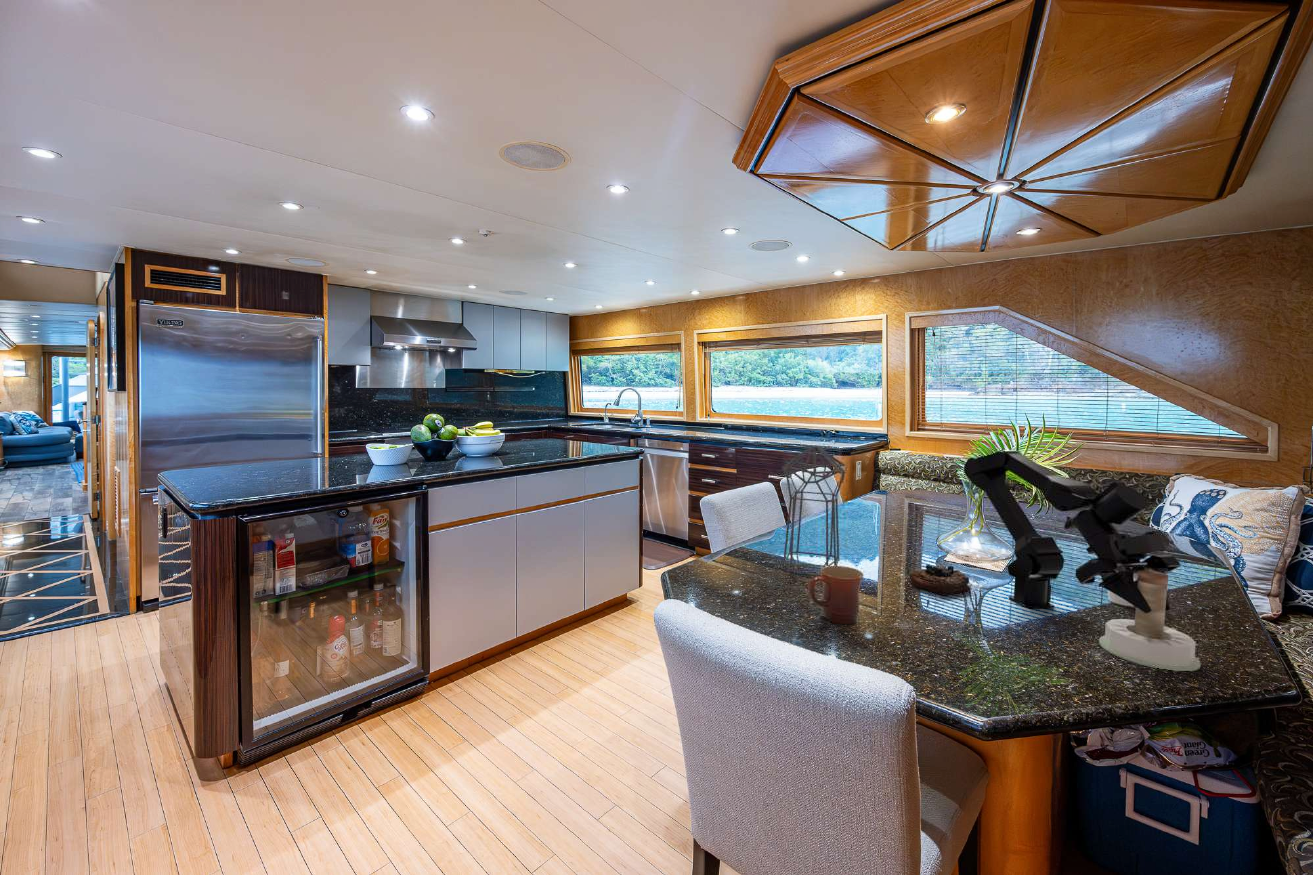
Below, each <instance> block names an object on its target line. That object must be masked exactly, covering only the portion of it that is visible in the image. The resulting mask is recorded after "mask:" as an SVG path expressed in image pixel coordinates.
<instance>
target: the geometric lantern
mask: <svg viewBox="0 0 1313 875" xmlns="http://www.w3.org/2000/svg"><path fill="white" fill-rule="evenodd" d="M807 455H808V457H807V460H806V461H805V462H800V460H802V459H803V458H804V457H806V456H807ZM817 455H818V458H819V459H820V461H821V464H822V465H821V464H817ZM812 456H813V460H812V461H813V463H812V464H809V462H810V459H811V458H812ZM823 457H824V459H825V460H827V462H828V463H829V464H826V463H825V462H824V459H823ZM795 465H796V466H797V467H793V466H795ZM798 467H799V468H798ZM807 467H812V468H813V471H812V470H808V468H807ZM831 467H832V468H833V469H832V470H827V468H831ZM817 468H822V469H823V470H822V471H817ZM781 469H782V470H783V471H784V474H785V478H786V481H787V488H788V495H789V504H788V505H789V506H788V514H787V523H786V531H785V532H786V533H785V542H784V552H783V558H782V559H783V564H784V565H785V566H786V567H788V568H789V569H790V570H791V571H792V572H793V577H794V578H795V579H798V580H800V576H799V574H801V575H802V574H803V575H812V576H816V577H817V576H821V573H814V572H800V571H798V572H797V570H800V567H801V568H807V569H814V570H815V572H819V571H818V570H820V569H821V568H823V567H827V566H839V561H840V540H839V537H840V536H839V534H840V533H839V513H838V512H839V511H838V510H839V508H838V507H839V504H838V495H839V493H840V489H841V487H842V484H843V483H844V482H843V481H844V480H845V473H846V469H847V465H846V464H845V463H843V462H842V461H841V460H839V459H838V458H836V457H835V456H833V455H831V454H830V453H829V452H827V451H826V450H824V449H823V448H822V447H821V446H818V445H811V446H809V447H808V448H807V449H805V450H803V451H802V452H801V453H799V454H797V455H796V456H795V457H793V458H792V459H791V460H789V461H787V463H786V464H785V465H783V466H782V467H781ZM795 471H798V472H799V471H800V472H801V473H802V477H801V476H800V475H799V474H797V472H795ZM805 473H808V474H809V475H810V476H809V477H808V479H807V481H806V478H805ZM837 474H841V476H840V480H839V481H837V484H836V487H835V489H834V491H833V490H832V489H831V487H830V485H829V483H828V481H827V479H829V478H830V477H833V476H835V475H837ZM792 475H794V476H795V477H797V478H798V479H799V480H800V481H802V483H801V485H800V486H799V487H798V489H797V488H796V485H795V483H794V481H793V480H794V479H793V478H792ZM813 477H814V478H813ZM812 478H813V479H814V480H811V479H812ZM816 478H819V479H816ZM790 480H791V483H792V485H793V487H794V490H795V491H793V492H791V486H790V485H791V484H790ZM822 481H824V483H825V484H826V485H827V488H829V491H830V493H829V492H824V491H823V489H822V488H821V486H820V484H819V483H820V482H822ZM808 484H816V485H817V488H818V490H819V491H820V492H813V491H804V490H805V488H807V486H808ZM798 494H800V497H797V496H798ZM804 494H811V495H812V494H817V495H822V496H823V498H824V500H823V499H813V498H803V497H804ZM827 495H829V496H831V499H830V500H829V499H828V498H827ZM797 500H799V501H800V502H799V514H798V515H799V516H798V529H797V538H796V540H797V541H796V542H797V543H796V551H795V550H794V535H795V534H794V530H795V528H794V527H795V515H796V508H797V507H796V506H797ZM803 501H811V502H821V503H822V502H823V503H825V553H819V552H809V551H800V550H799V548H800V537H801V523H802V513H803V509H802V508H803ZM829 503H831V513H830V514H831V518H830V519H831V520H830V539H829ZM790 521H791V530H790ZM789 530H790V539H789ZM789 540H790V541H789ZM829 540H830V541H829ZM788 541H789V548H788ZM829 542H830V544H829ZM787 549H788V550H787ZM787 551H788V553H787ZM794 554H796V559H795V558H794V556H793V555H794ZM798 554H803V555H811V556H821V557H825V563H824V565H823V564H815V563H814V564H812V563H801V562H800V560H799V555H798ZM788 558H790V559H789V561H787V560H788ZM830 558H833V561H832V562H831V563H829V560H830ZM793 562H794V563H793ZM816 570H817V571H816ZM796 575H797V576H796ZM819 582H820V583H819V584H823V582H821V581H819Z"/></svg>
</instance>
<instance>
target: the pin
mask: <svg viewBox="0 0 1313 875" xmlns="http://www.w3.org/2000/svg"><path fill="white" fill-rule="evenodd" d="M1168 584H1169V574H1164V573H1160V572H1156V571H1150V570H1139V571H1138V589H1139V591H1140V592H1141V594H1142V595H1143V597H1144V598H1145V600H1146V601H1147V603H1148V605H1149V607H1150V608H1151V612H1149V613H1144V612H1143V611H1141V610H1140V609H1138V608H1137V607H1135V614H1134V615H1135V616H1134V620H1135V626H1134V633H1135V634H1137V635H1140V636H1144V637H1148V638H1153V639H1159V640H1163V632H1164V627H1165V620H1166V619H1165V618H1166V612H1165V607H1166V596H1168V595H1167V594H1168Z"/></svg>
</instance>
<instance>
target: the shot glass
mask: <svg viewBox="0 0 1313 875" xmlns="http://www.w3.org/2000/svg"><path fill="white" fill-rule="evenodd" d="M1134 581H1136V579H1135V577H1134ZM1107 598H1108V601H1110V602H1112V603H1114V604H1118V605H1121V606H1126V607H1134V606H1133V605H1132V604H1130V603H1129V602H1127V601H1126V600H1124V599H1122V598H1121V597H1119V596H1118V595H1116V594H1114V593H1112V592H1111V591H1109V590H1107Z"/></svg>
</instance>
